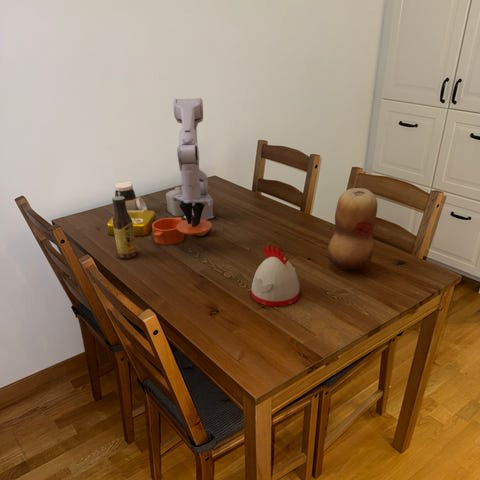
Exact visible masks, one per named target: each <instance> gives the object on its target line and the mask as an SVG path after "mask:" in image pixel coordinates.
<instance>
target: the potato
mask: <svg viewBox="0 0 480 480" xmlns="http://www.w3.org/2000/svg"><path fill="white" fill-rule="evenodd" d="M207 233H209V231H207V232H204V233H200V234H195V235H196V236H198V237H203V236H205V235H206V234H207Z"/></svg>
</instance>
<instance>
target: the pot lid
mask: <svg viewBox="0 0 480 480" xmlns="http://www.w3.org/2000/svg"><path fill="white" fill-rule="evenodd" d="M190 222H191V224H188V222H187V219H186V220H182V222H180V223H178V224H177V226H176V229H177V230H178V231H179V232H181V233H184V234H185V235H196V234H200V233H204V232H207V231H208V232H209V231H210V230H211V229H212V228H213V224H212V222H211V221H209V220H203V219H200V224H198V225H195V218H194V215H191V216H190ZM208 232H207V233H208Z"/></svg>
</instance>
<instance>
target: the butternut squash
mask: <svg viewBox="0 0 480 480" xmlns="http://www.w3.org/2000/svg"><path fill="white" fill-rule="evenodd" d="M377 199H378V198H377V196H376V195H375V193H373V192H372V191H370V190H369V189H367V188H364V187H362V188H361V187H360V188H359V187H352V188H350V189H347V190H345V191H343V192H342V193H341V195H340V196H339V197H338V200H337V203H336V204H337V205H336V208H335V214H334V233H333V235H332V236H331V239H330V241H329V243H328V246H327V258H328V261H329V262H330V263H331V264H332V265H333V267H335V268H338V269H342V270H344V271H347V272H352V271H353V272H354V271H357V270H358V269H359V270H360V269H361V268H364V267H365V266H367V265H368V264H369V263H370V261H371V260H372V258H373V255H374V249H375V248H374V247H375V246H374V245H375V244H374V238H373V230H374V228H375V226H376V225H377V224H376V221H377V220H376V218H377V213H378V200H377Z"/></svg>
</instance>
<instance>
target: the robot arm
mask: <svg viewBox="0 0 480 480" xmlns="http://www.w3.org/2000/svg"><path fill="white" fill-rule="evenodd" d="M172 104H173V106H172V107H173V116H174V118H175V121H176V122H177V123H178V124H182V125H181V127H182V128H181V129H180V130H179V132H178V146H177V148H176V156H177V162H178V167H179V171H180V181H181V188H182V194H173V195H171V201H181V204H180V205H179V206H180V208H181V209H182V211H183V213H184V214H185V215H183V218H184V219H186V220H187V222H188V224H191V222H190V216H191V215H194V218H195V225H198V224H200V219H203V220H207V221H209V220H211V219H214V218H215V216H214V207H213V205H214V198H212V196H211V195H210V194H209V181H208V175H207V173H206V172H205V171H203V170H201V169H200V149H199V145H198V130H197V128H198V125H199V124H200V123H202V122H203V120H204V102H203V99H202V97H199V98H198V97H197V98H174V99H173V101H172Z"/></svg>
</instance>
